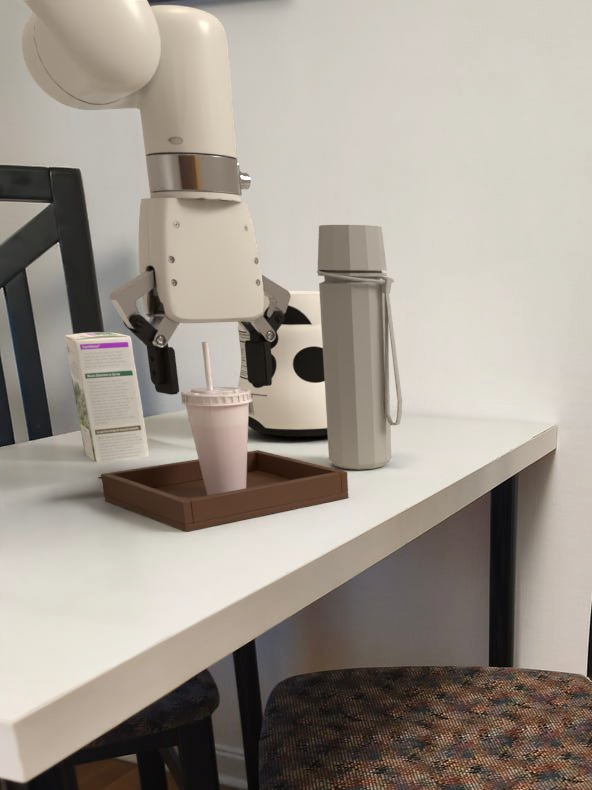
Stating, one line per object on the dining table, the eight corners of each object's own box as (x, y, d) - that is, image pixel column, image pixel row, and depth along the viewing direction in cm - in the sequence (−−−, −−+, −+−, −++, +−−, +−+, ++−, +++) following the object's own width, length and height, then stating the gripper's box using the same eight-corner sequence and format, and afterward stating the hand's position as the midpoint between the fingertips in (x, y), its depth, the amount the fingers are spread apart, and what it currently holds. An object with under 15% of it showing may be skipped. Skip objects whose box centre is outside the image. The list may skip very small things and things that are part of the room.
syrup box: (153, 474, 97) (134, 334, 92) (97, 480, 94) (73, 336, 89) (139, 465, 102) (120, 331, 96) (84, 470, 98) (61, 332, 93)
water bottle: (314, 468, 101) (298, 224, 91) (352, 456, 107) (341, 228, 98) (384, 476, 97) (375, 224, 88) (419, 463, 104) (414, 227, 94)
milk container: (386, 425, 128) (381, 291, 121) (342, 447, 113) (334, 294, 106) (275, 420, 132) (264, 290, 125) (217, 440, 116) (202, 293, 109)
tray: (185, 531, 76) (182, 502, 75) (104, 500, 86) (100, 473, 85) (348, 497, 88) (347, 471, 87) (260, 473, 98) (258, 449, 97)
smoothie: (204, 485, 90) (188, 339, 84) (267, 486, 90) (255, 340, 84) (183, 500, 84) (163, 344, 78) (250, 501, 84) (235, 345, 78)
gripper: (257, 192, 85) (271, 378, 91) (75, 178, 73) (107, 392, 80) (303, 187, 80) (315, 385, 86) (117, 172, 68) (147, 401, 75)
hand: (215, 388), depth 83 cm, fingers open, 9 cm apart
